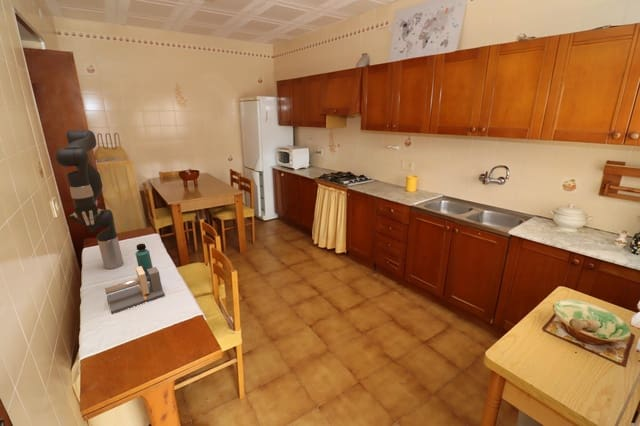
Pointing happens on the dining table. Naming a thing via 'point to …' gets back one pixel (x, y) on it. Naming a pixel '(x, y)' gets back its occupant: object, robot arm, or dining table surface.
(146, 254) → the beverage bottle
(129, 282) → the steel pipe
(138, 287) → the mount board
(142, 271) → the beige rectangular block
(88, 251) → the dining table surface
